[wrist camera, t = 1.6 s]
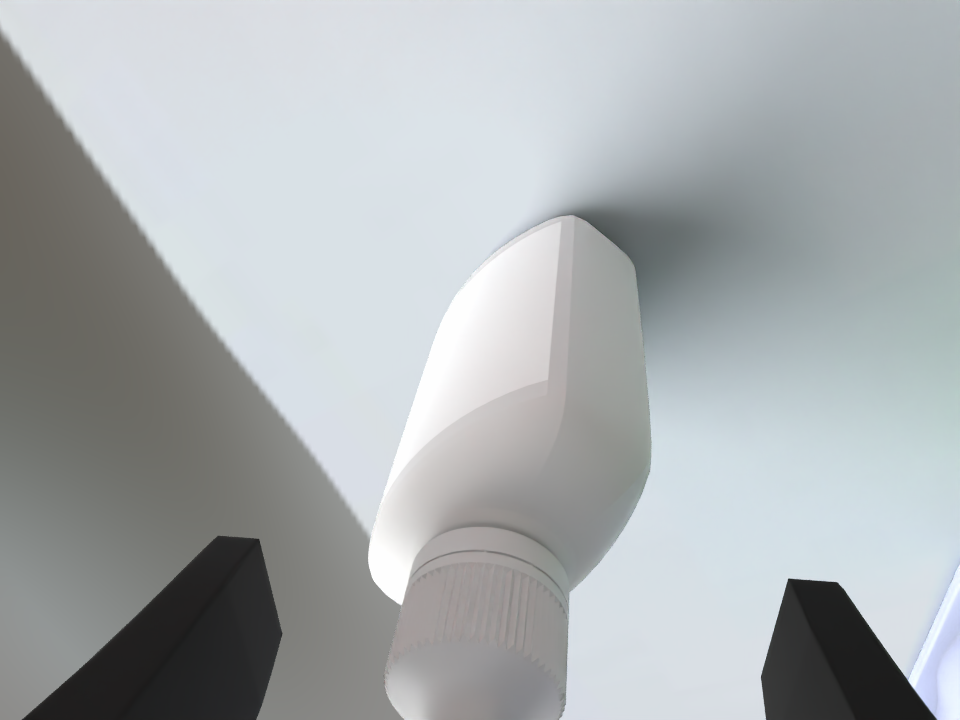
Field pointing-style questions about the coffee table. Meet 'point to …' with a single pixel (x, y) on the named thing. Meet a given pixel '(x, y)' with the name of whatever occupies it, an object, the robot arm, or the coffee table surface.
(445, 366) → the eye dropper bottle
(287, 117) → the coffee table surface
